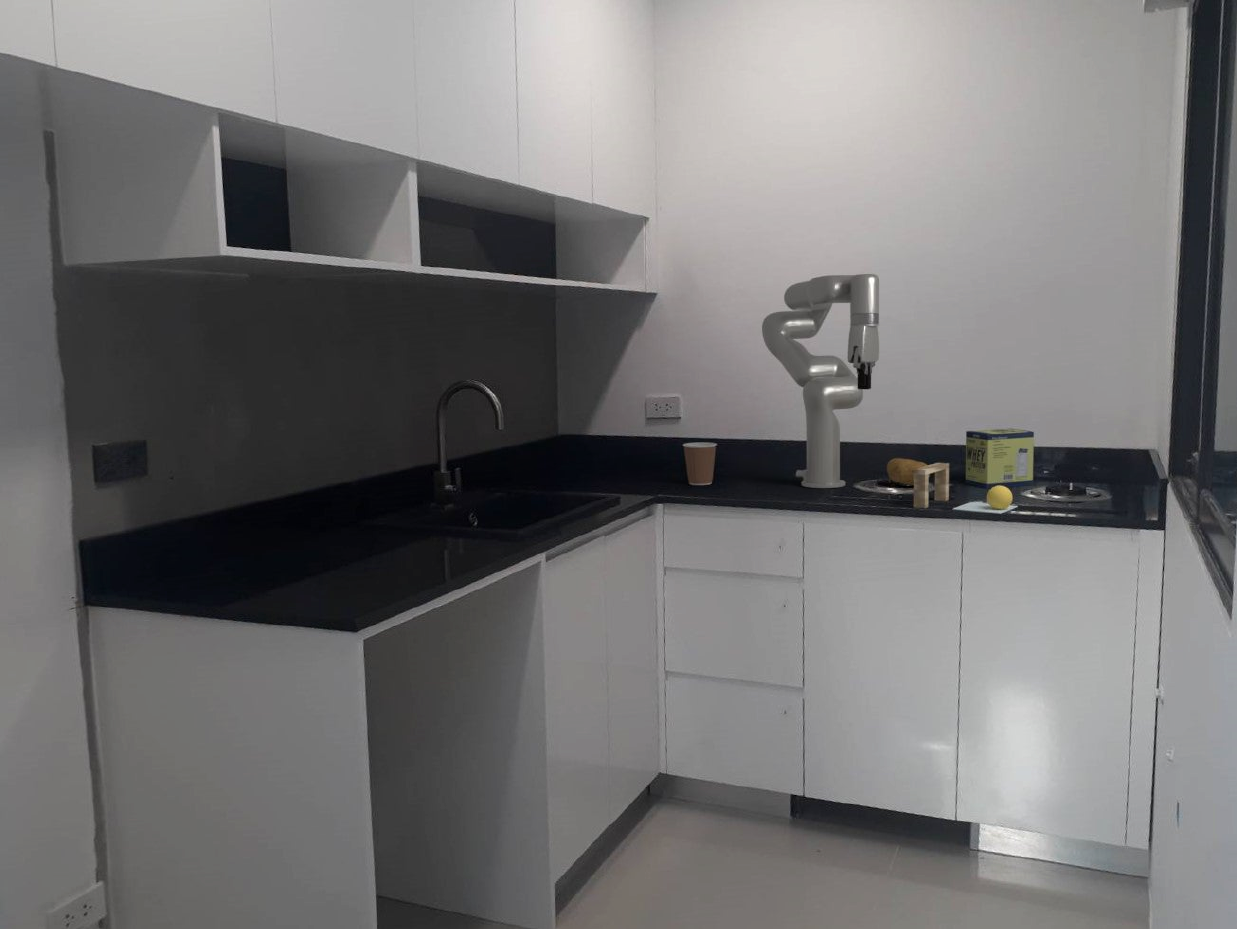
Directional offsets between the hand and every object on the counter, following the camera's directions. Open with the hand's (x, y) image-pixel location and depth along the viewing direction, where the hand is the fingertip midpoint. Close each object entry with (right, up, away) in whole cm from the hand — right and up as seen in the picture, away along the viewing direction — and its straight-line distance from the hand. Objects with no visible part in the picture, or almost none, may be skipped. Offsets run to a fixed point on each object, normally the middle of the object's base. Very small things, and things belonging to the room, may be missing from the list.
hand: (864, 389), depth 283 cm
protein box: (+42, -27, +16) cm, 52 cm away
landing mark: (+25, -31, -22) cm, 46 cm away
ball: (+28, -29, -25) cm, 47 cm away
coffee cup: (-42, -26, +34) cm, 60 cm away
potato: (+17, -27, +16) cm, 36 cm away
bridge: (+14, -31, -13) cm, 36 cm away
